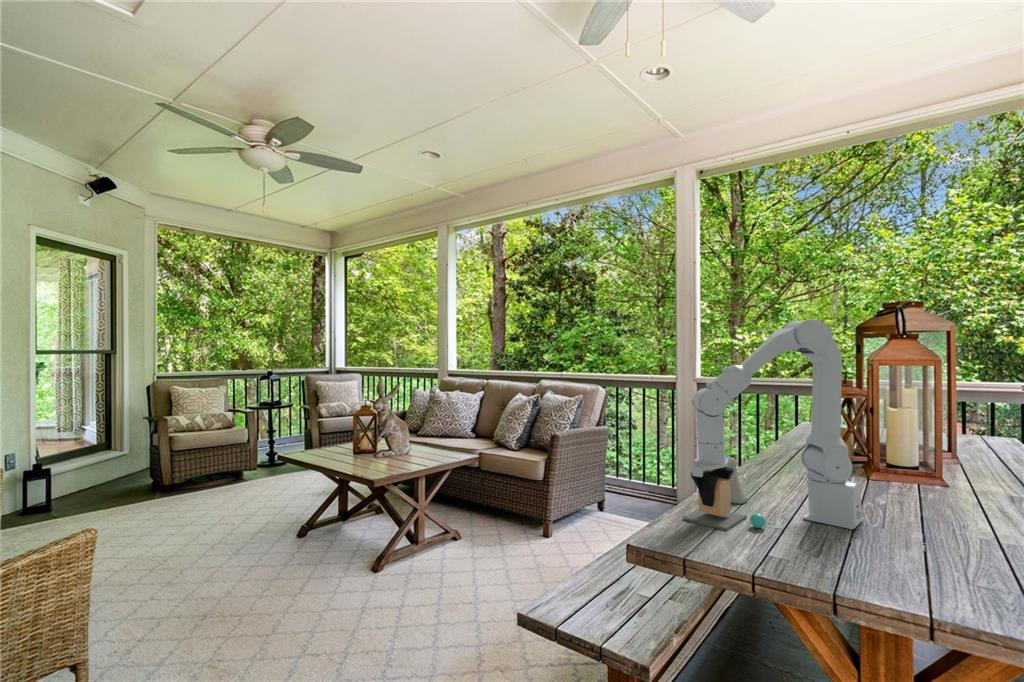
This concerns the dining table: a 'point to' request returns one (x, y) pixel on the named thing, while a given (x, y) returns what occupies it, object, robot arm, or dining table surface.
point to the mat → (715, 519)
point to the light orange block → (718, 499)
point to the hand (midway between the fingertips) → (713, 502)
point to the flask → (736, 485)
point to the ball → (757, 520)
